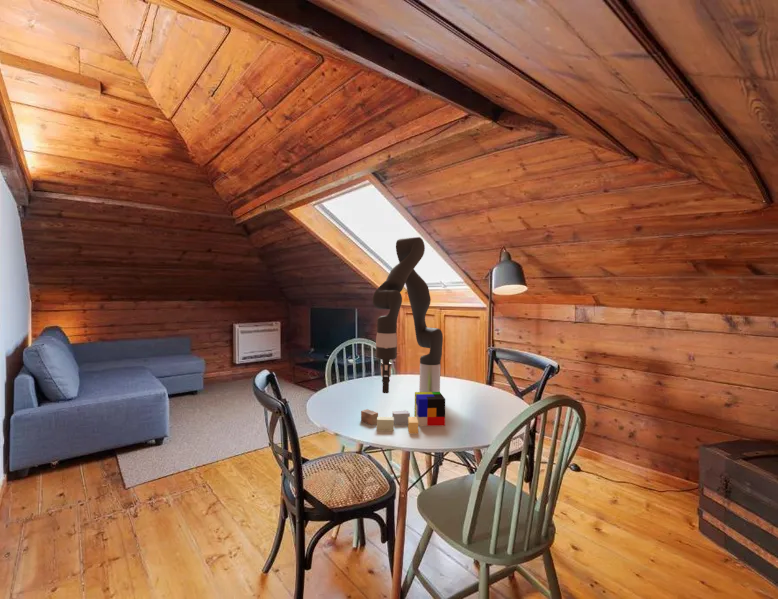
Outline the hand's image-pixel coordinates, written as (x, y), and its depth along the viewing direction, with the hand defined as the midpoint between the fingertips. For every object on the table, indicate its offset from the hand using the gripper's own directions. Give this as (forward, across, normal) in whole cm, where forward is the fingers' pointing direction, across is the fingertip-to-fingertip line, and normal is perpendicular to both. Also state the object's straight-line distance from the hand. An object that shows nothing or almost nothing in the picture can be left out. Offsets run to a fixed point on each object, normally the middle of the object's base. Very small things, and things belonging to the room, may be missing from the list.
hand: (385, 389), depth 142 cm
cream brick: (+14, 0, 0) cm, 15 cm away
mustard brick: (+14, +1, +10) cm, 18 cm away
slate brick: (+14, -7, +6) cm, 17 cm away
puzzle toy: (+14, -9, +17) cm, 24 cm away
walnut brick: (+14, -7, -6) cm, 17 cm away
